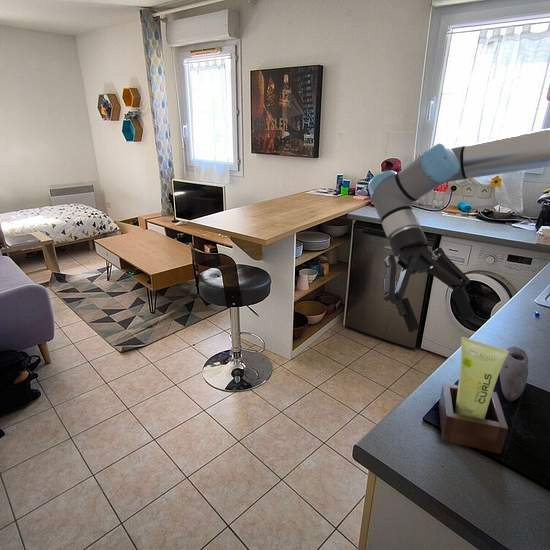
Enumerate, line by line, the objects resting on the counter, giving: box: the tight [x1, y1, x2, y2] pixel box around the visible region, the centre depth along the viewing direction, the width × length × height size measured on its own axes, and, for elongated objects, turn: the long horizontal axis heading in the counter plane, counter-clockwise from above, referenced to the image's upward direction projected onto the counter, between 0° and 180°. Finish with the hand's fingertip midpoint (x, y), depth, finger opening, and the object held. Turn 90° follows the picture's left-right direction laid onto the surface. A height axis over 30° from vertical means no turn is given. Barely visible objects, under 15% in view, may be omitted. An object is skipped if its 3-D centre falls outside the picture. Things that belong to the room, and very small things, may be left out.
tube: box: [454, 336, 509, 420], centre depth 68 cm, size 6×5×20 cm
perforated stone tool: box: [499, 346, 529, 402], centre depth 80 cm, size 15×5×7 cm, turn 145°
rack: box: [438, 382, 509, 455], centre depth 70 cm, size 10×10×6 cm
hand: (442, 324), depth 74 cm, fingers open, 13 cm apart
